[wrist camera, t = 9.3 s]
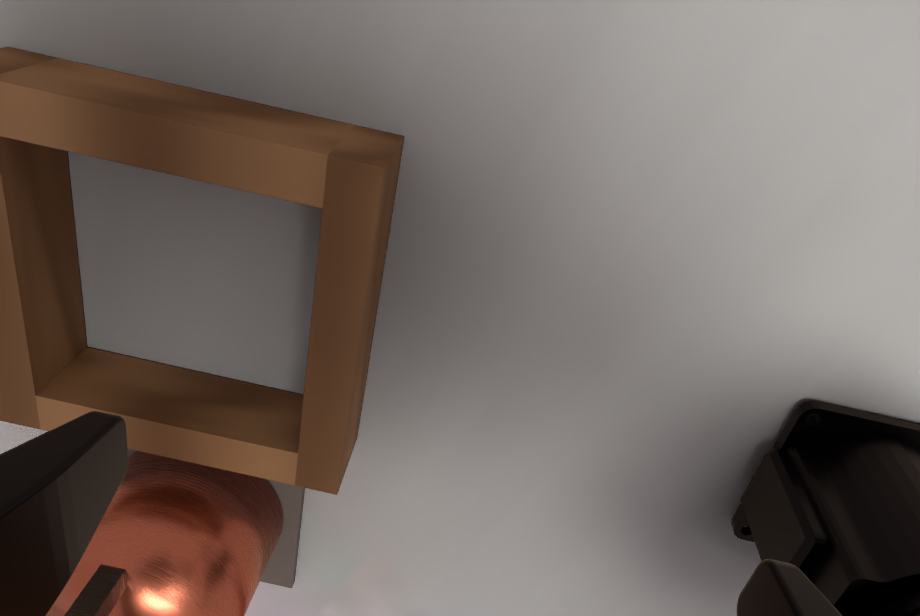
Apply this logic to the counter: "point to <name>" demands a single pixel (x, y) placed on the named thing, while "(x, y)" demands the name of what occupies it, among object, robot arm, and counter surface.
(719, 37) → the counter surface
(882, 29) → the counter surface
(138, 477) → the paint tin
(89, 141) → the holder
